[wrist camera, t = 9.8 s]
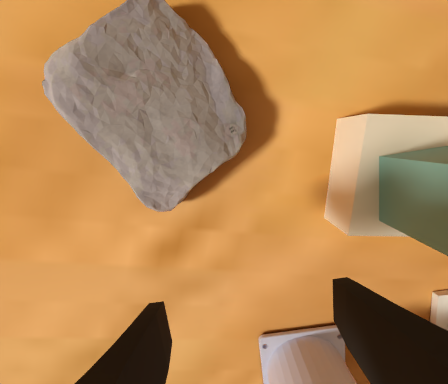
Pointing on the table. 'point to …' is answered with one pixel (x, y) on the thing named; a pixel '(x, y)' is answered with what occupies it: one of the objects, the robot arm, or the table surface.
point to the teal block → (416, 195)
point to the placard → (439, 309)
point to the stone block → (148, 100)
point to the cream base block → (372, 165)
